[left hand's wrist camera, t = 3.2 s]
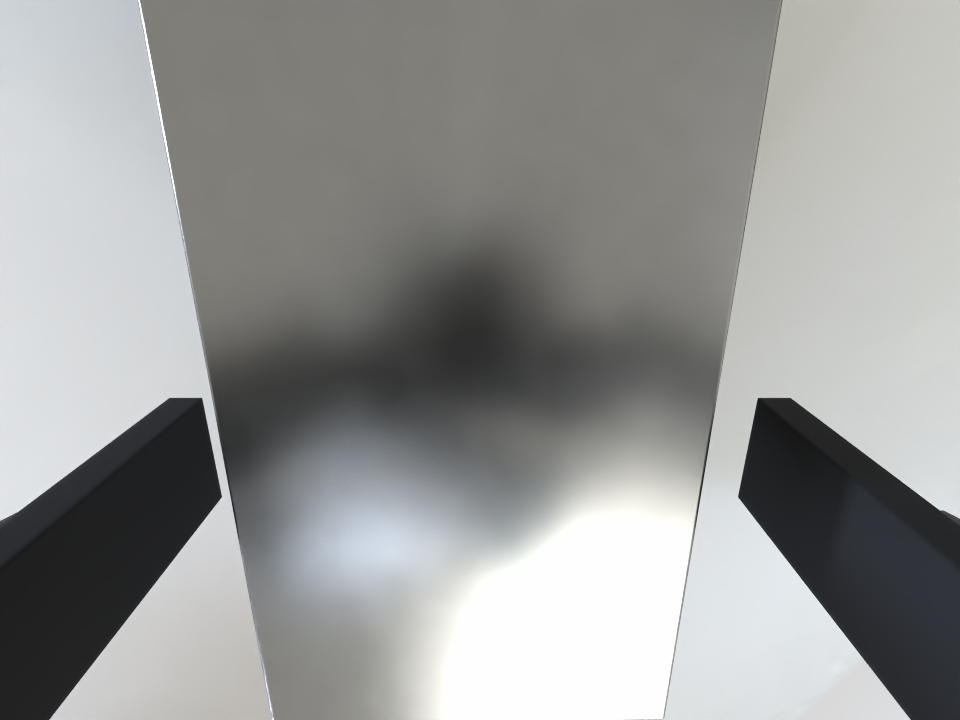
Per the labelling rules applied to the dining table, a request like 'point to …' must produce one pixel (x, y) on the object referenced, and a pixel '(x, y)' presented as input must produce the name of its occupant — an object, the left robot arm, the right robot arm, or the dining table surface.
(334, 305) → the box
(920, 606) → the left robot arm
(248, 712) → the dining table surface
